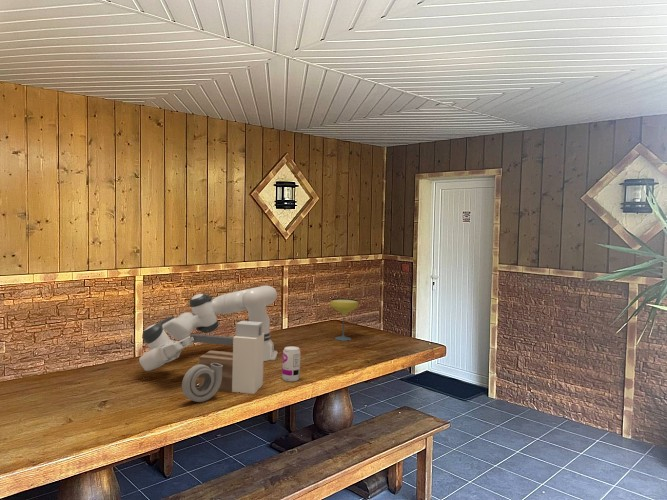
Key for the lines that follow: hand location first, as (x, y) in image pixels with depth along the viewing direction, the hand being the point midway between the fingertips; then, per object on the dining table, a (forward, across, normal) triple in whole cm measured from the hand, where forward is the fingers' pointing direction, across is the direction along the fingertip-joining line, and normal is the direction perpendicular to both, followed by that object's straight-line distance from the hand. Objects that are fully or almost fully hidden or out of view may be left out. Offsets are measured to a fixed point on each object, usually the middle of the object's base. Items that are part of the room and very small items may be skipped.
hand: (196, 337), depth 228 cm
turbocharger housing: (0, +19, -25) cm, 31 cm away
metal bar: (+6, 0, -6) cm, 8 cm away
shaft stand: (+11, 0, -31) cm, 33 cm away
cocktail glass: (+33, -108, -44) cm, 121 cm away
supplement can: (+24, -18, -38) cm, 49 cm away
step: (0, 0, -24) cm, 25 cm away
